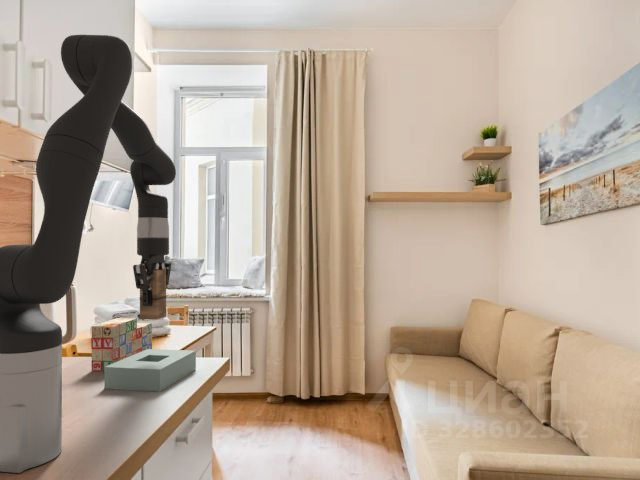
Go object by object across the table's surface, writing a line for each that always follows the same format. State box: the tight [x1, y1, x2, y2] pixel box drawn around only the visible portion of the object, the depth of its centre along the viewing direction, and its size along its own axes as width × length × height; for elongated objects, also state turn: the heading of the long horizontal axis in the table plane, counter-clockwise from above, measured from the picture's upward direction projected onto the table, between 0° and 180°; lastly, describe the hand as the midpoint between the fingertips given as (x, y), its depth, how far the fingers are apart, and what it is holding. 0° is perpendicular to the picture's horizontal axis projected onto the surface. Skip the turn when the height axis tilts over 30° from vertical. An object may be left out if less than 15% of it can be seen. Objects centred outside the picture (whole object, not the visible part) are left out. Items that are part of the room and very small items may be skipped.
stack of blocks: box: [90, 317, 153, 372], centre depth 126 cm, size 21×6×12 cm, turn 174°
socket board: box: [103, 348, 197, 392], centre depth 109 cm, size 18×14×5 cm
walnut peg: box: [139, 269, 167, 320], centre depth 109 cm, size 5×5×12 cm
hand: (153, 304), depth 109 cm, fingers closed on walnut peg, 4 cm apart
